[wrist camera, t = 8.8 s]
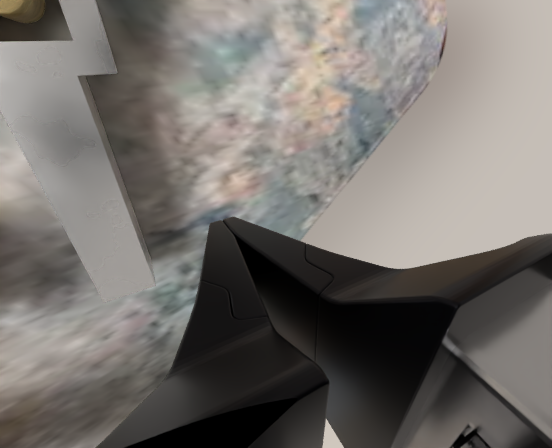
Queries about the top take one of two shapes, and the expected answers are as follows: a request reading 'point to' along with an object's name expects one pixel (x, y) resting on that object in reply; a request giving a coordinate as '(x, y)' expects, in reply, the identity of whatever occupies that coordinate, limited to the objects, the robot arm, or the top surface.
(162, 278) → the top surface
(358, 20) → the top surface
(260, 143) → the top surface
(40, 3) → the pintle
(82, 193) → the link
